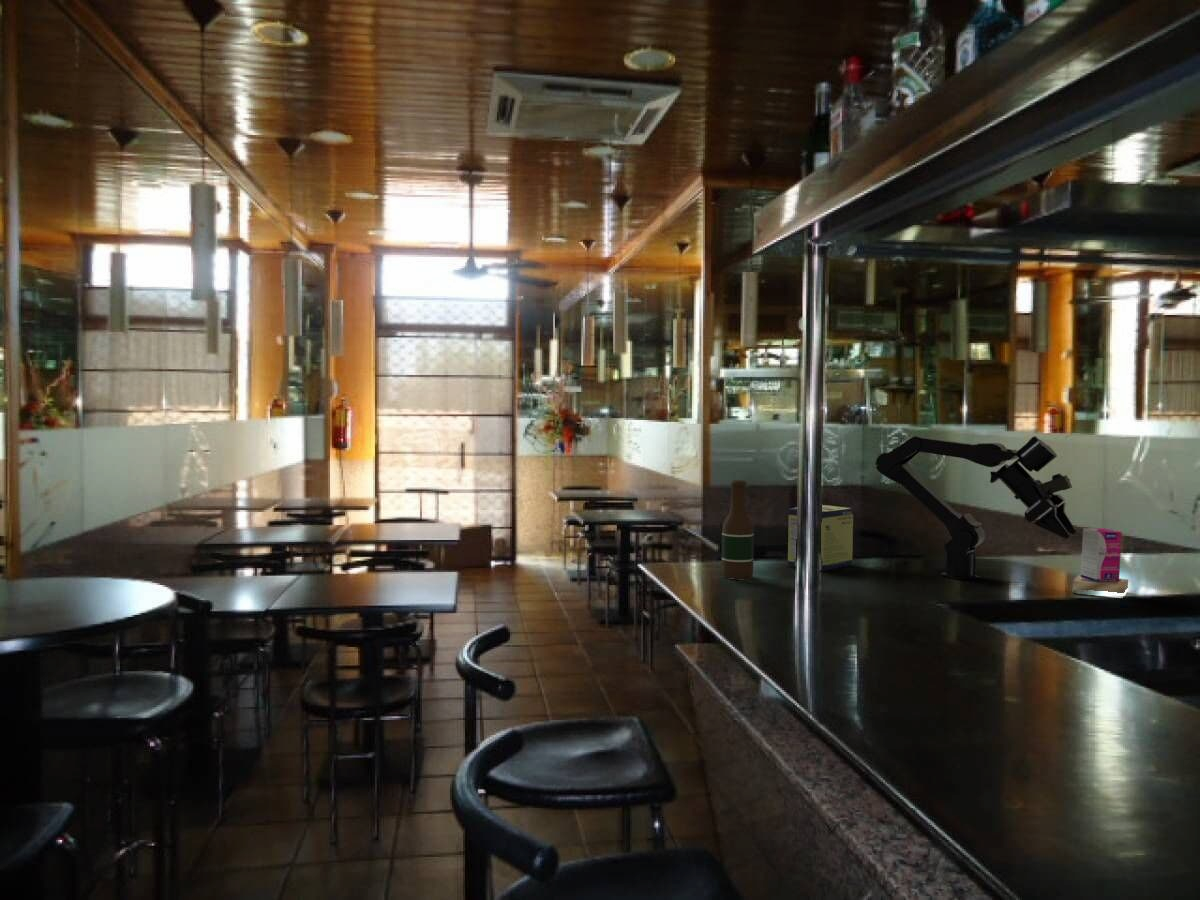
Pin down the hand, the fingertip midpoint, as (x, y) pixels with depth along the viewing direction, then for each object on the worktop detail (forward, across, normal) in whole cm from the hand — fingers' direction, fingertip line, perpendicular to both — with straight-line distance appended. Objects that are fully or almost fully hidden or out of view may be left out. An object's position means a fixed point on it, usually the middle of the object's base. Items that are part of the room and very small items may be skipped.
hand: (1071, 535), depth 209 cm
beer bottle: (-38, -35, +58) cm, 78 cm away
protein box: (-32, -6, +51) cm, 60 cm away
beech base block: (+14, 0, +4) cm, 14 cm away
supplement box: (+11, 0, +2) cm, 11 cm away
